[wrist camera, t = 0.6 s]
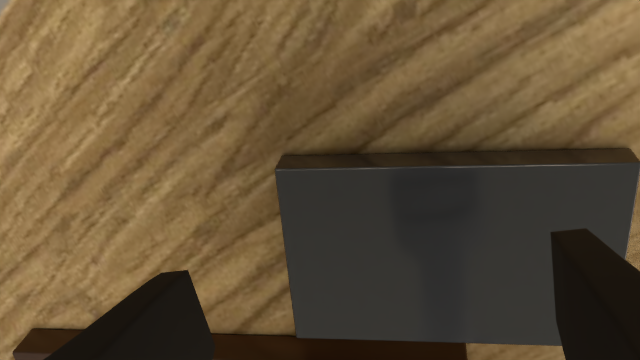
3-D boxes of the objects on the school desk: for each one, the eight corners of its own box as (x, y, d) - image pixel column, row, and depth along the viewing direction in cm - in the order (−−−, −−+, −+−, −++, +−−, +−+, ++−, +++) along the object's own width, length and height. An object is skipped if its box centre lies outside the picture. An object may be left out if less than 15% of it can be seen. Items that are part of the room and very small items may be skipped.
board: (603, 326, 23) (611, 348, 22) (301, 319, 25) (296, 338, 24) (630, 147, 20) (642, 162, 19) (280, 154, 22) (273, 168, 21)
